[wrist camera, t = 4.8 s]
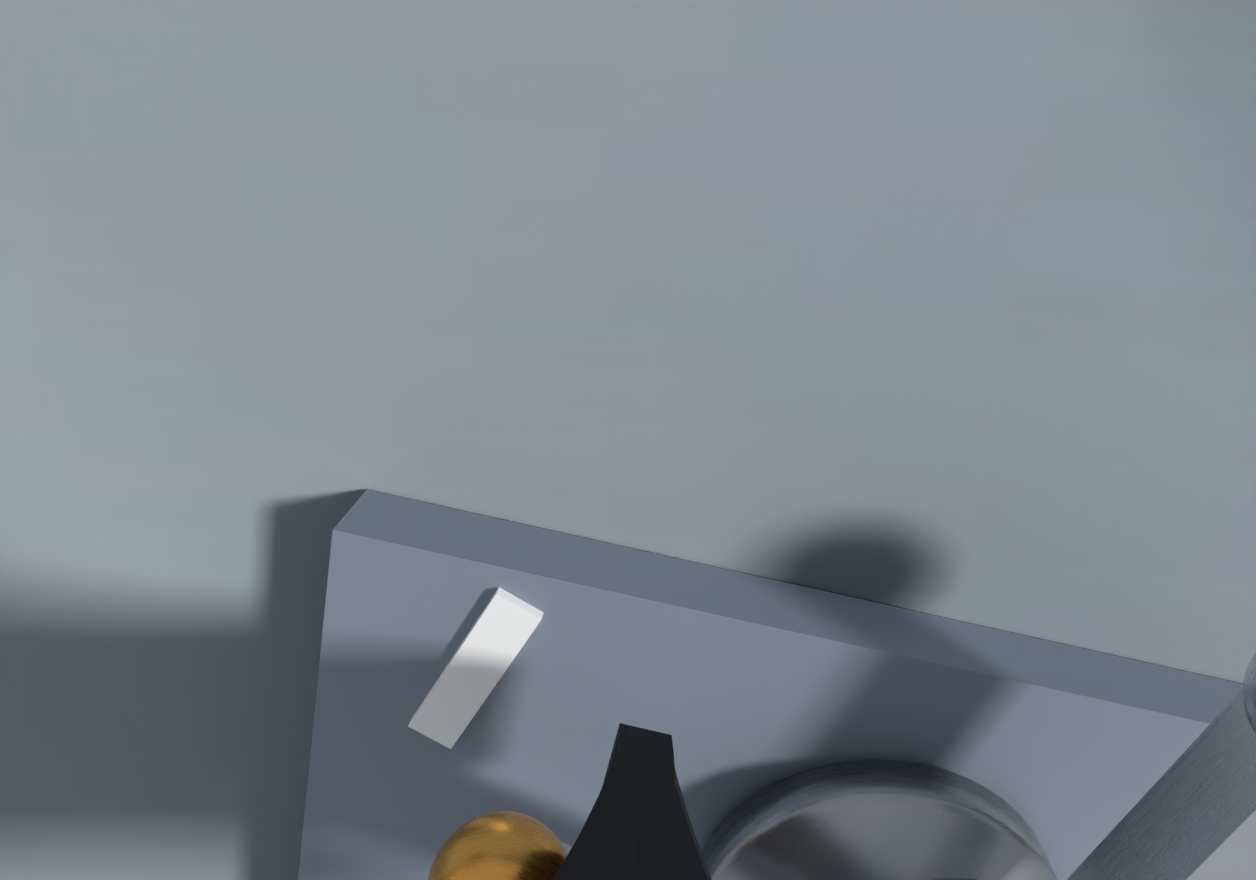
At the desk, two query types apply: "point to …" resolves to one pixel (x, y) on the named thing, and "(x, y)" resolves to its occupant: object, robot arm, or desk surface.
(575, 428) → the desk surface
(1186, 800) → the capstan
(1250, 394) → the desk surface
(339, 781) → the grey panel with crank
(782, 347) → the desk surface
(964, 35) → the desk surface
